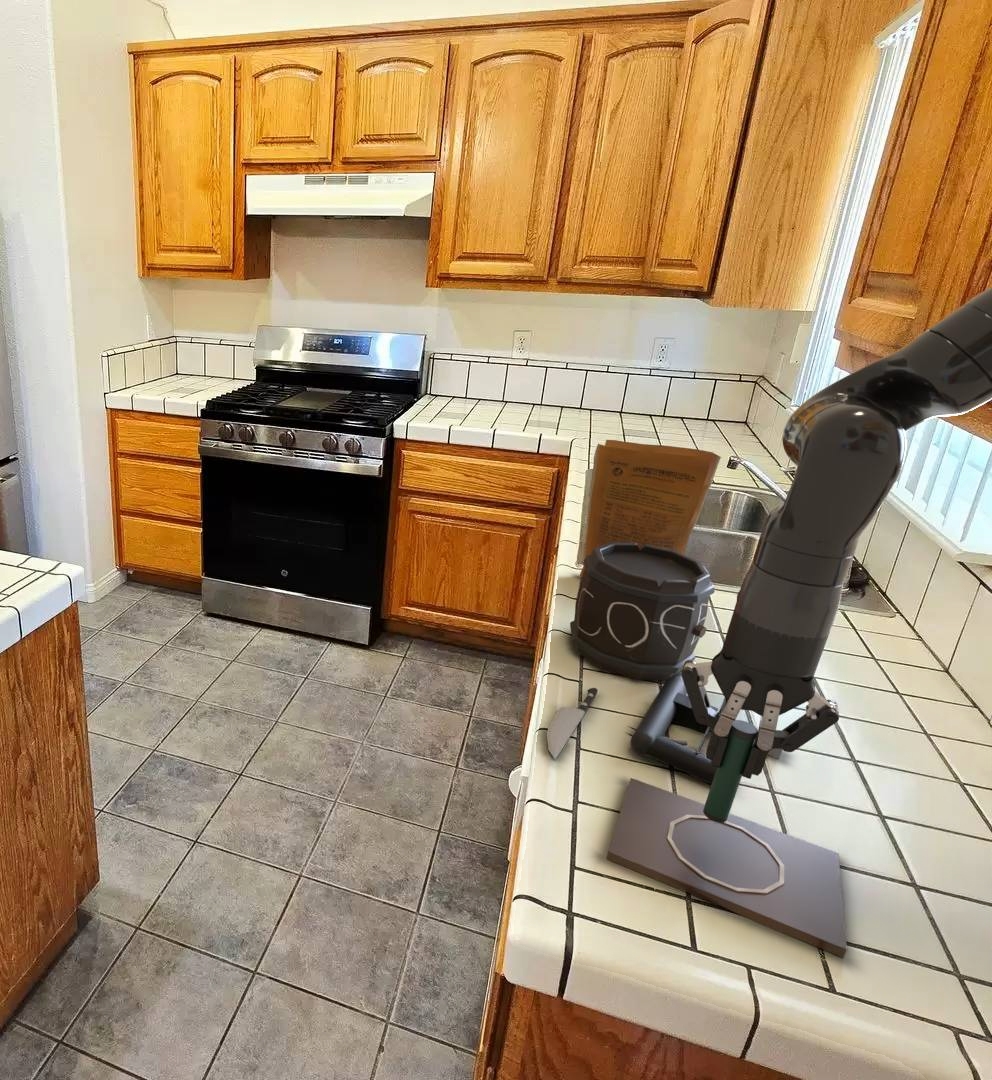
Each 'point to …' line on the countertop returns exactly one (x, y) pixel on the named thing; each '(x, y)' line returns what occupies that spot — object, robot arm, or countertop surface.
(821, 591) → the robot arm
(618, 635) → the coffee canister
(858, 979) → the countertop surface
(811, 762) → the countertop surface
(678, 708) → the door handle
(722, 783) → the marker
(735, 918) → the countertop surface
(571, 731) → the chef's knife
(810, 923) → the drawing board
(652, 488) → the pancake mix bag
